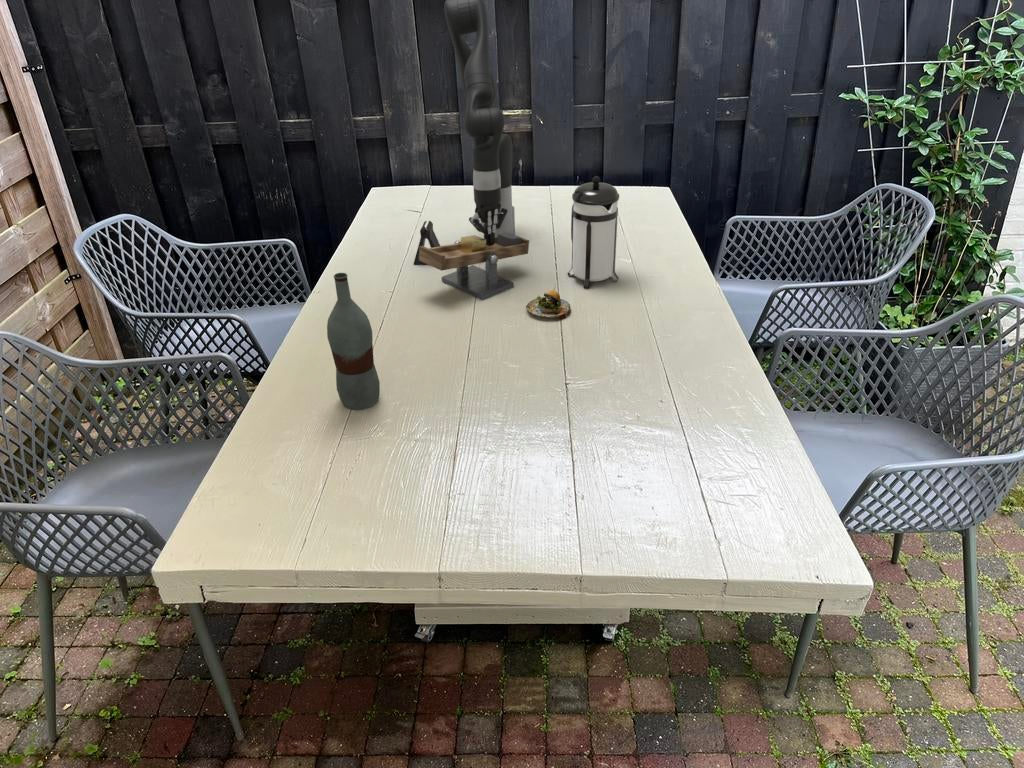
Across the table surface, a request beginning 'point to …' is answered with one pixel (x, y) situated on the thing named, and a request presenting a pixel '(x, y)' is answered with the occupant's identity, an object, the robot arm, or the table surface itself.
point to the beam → (455, 258)
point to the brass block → (472, 244)
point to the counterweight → (508, 239)
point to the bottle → (352, 350)
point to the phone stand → (433, 241)
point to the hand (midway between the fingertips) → (489, 244)
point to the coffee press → (594, 231)
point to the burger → (549, 306)
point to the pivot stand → (479, 279)
